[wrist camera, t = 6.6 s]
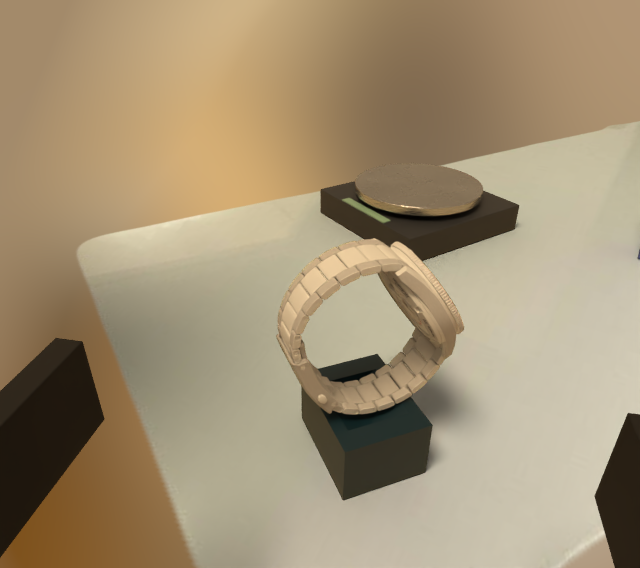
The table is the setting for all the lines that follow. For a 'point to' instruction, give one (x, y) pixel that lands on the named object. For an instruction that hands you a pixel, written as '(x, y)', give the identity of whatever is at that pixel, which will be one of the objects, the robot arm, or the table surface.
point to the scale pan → (418, 189)
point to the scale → (419, 222)
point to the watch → (370, 367)
